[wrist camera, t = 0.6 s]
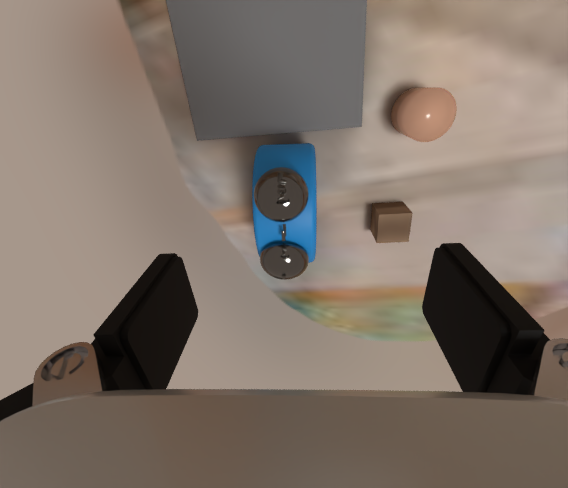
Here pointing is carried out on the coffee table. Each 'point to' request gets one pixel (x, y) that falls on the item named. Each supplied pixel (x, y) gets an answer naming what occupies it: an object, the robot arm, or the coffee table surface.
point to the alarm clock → (285, 208)
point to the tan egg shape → (424, 113)
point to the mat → (270, 64)
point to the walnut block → (390, 222)
